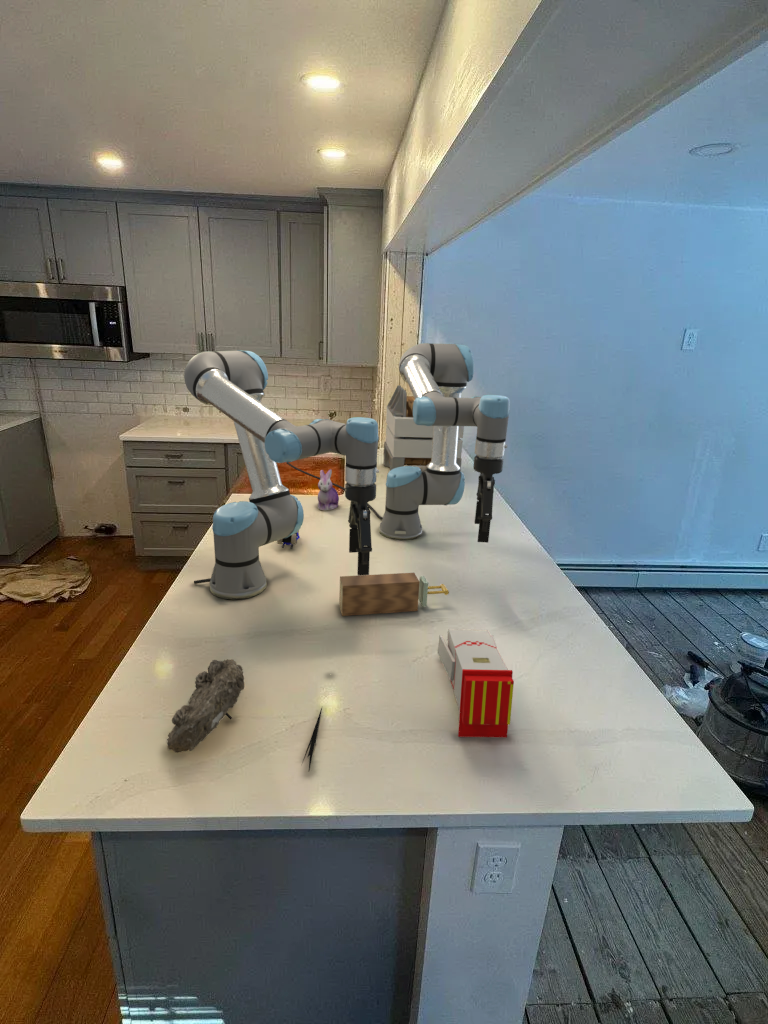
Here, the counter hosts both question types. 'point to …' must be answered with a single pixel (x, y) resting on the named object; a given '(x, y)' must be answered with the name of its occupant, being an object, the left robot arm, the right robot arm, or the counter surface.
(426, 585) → the drawer
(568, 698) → the counter surface
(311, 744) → the feather
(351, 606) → the cabinet
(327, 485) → the figurine
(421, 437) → the transformer
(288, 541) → the figurine character
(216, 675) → the fossil
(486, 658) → the toy
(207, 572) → the counter surface
